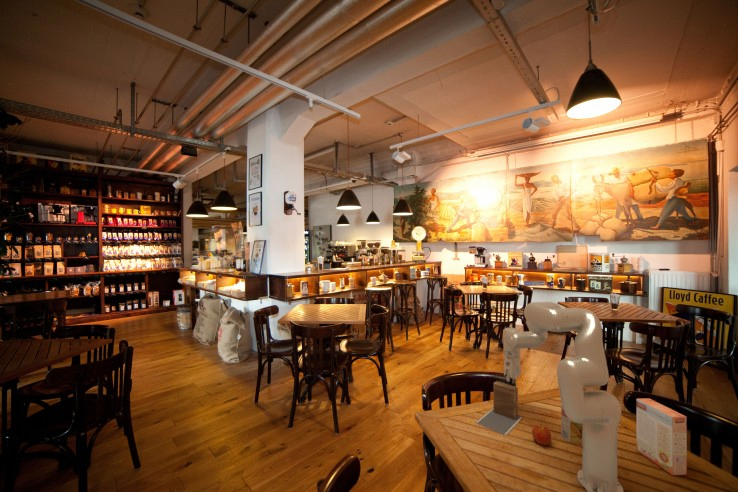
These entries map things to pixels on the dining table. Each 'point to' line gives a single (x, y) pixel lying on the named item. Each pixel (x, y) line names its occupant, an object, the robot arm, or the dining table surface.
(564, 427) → the canned food
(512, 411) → the plaque
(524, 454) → the dining table surface
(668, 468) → the cracker box
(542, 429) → the fruit
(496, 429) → the mat
